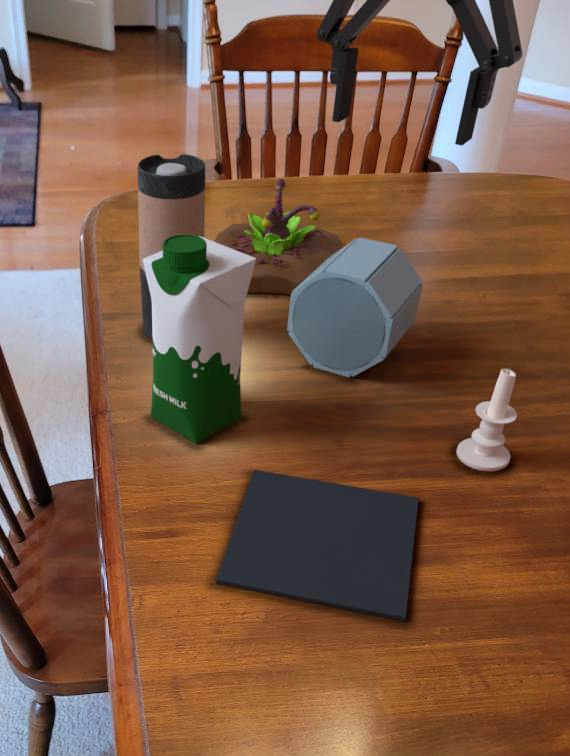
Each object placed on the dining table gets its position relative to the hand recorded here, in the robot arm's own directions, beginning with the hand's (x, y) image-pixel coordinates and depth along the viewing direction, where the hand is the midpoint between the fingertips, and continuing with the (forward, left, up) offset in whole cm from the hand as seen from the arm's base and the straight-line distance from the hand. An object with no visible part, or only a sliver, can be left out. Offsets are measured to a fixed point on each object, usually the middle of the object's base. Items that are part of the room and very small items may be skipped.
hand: (400, 130), depth 87 cm
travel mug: (+23, +5, -24) cm, 34 cm away
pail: (+2, +5, -18) cm, 19 cm away
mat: (-1, +39, -24) cm, 45 cm away
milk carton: (+16, +23, -24) cm, 37 cm away
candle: (-14, +22, -24) cm, 35 cm away
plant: (+14, -17, -24) cm, 33 cm away
